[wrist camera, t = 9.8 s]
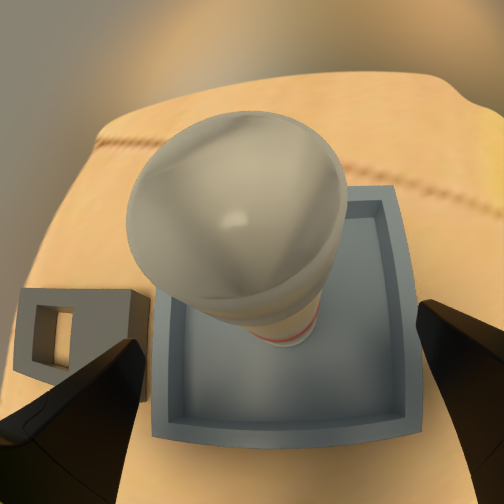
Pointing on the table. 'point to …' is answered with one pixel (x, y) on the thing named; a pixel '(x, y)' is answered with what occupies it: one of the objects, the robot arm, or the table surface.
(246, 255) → the cup
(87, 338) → the block
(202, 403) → the tray
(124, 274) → the table surface
